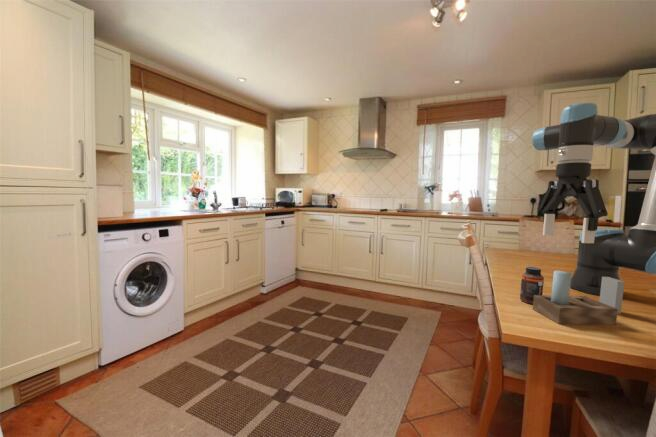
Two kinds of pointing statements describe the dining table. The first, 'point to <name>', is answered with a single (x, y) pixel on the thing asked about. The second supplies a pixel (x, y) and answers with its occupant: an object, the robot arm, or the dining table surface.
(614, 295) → the grey rectangular block
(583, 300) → the socket block
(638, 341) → the dining table surface
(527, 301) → the supplement bottle
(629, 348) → the dining table surface
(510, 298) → the dining table surface
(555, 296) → the dowel bit
